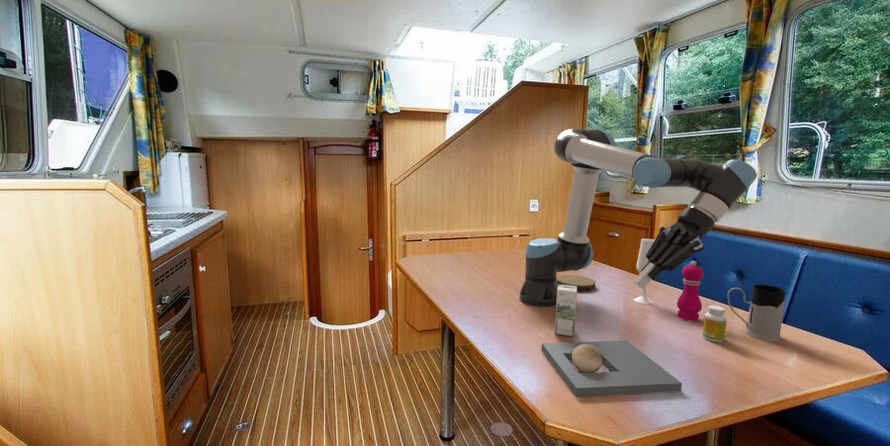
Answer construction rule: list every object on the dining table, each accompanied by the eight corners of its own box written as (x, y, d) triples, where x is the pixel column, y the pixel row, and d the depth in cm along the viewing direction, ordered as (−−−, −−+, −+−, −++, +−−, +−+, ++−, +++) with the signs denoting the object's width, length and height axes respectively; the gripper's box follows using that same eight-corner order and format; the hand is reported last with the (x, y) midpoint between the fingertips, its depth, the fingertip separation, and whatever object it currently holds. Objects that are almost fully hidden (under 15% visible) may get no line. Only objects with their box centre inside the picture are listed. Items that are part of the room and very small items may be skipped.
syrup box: (574, 330, 121) (577, 285, 119) (574, 337, 115) (577, 291, 113) (555, 327, 122) (557, 283, 120) (554, 334, 117) (556, 288, 115)
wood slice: (563, 279, 178) (563, 272, 177) (599, 285, 168) (599, 279, 168) (551, 287, 165) (551, 280, 164) (589, 295, 156) (589, 287, 155)
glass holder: (784, 344, 113) (791, 294, 110) (724, 332, 120) (730, 286, 118) (778, 333, 120) (784, 287, 118) (722, 323, 127) (727, 279, 125)
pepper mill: (704, 322, 128) (710, 264, 125) (680, 320, 129) (686, 262, 126) (694, 314, 135) (700, 259, 132) (672, 313, 136) (677, 257, 133)
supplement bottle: (717, 344, 112) (721, 312, 111) (698, 336, 117) (701, 306, 115) (727, 340, 115) (731, 309, 113) (708, 333, 119) (712, 303, 118)
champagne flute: (634, 302, 147) (639, 240, 143) (632, 297, 153) (637, 237, 149) (654, 304, 144) (659, 242, 141) (652, 299, 150) (657, 239, 147)
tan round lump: (605, 342, 95) (606, 366, 97) (576, 335, 99) (578, 358, 101) (596, 358, 89) (597, 383, 91) (566, 350, 94) (568, 374, 96)
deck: (626, 347, 109) (627, 340, 109) (681, 391, 88) (681, 383, 87) (541, 350, 107) (541, 343, 107) (576, 396, 85) (576, 388, 85)
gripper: (732, 230, 92) (664, 304, 94) (689, 216, 104) (630, 282, 107) (715, 212, 90) (646, 288, 92) (673, 200, 102) (613, 267, 104)
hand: (638, 285), depth 99 cm, fingers closed
